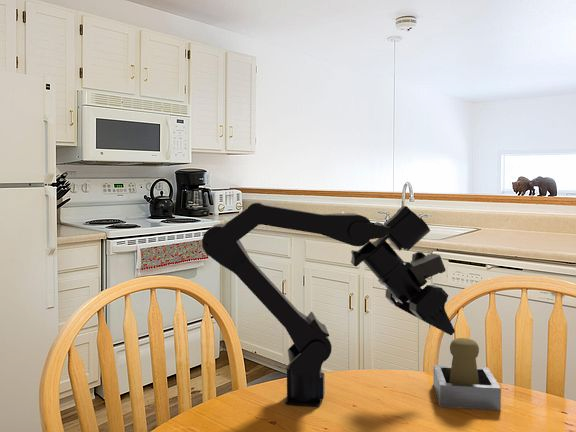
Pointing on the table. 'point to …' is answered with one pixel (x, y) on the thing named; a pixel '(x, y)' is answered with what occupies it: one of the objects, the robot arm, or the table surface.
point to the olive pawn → (464, 361)
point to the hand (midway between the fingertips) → (442, 328)
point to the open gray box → (467, 390)
